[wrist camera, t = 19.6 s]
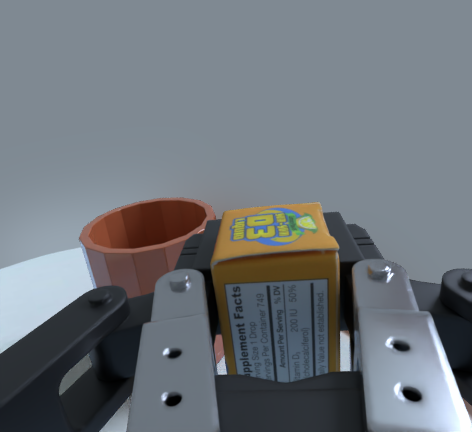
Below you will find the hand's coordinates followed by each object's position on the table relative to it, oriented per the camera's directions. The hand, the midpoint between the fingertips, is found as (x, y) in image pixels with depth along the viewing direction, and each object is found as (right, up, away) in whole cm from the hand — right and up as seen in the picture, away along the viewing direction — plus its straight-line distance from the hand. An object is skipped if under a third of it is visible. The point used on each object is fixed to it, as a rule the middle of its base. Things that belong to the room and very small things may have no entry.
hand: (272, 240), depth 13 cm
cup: (-6, -8, +11) cm, 15 cm away
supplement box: (+1, -9, 0) cm, 9 cm away
